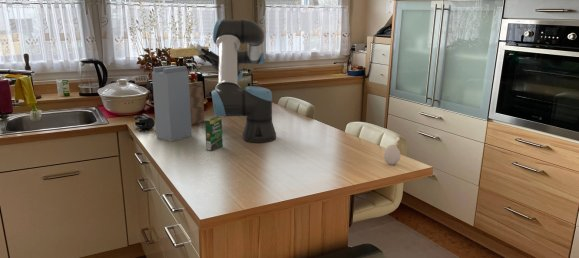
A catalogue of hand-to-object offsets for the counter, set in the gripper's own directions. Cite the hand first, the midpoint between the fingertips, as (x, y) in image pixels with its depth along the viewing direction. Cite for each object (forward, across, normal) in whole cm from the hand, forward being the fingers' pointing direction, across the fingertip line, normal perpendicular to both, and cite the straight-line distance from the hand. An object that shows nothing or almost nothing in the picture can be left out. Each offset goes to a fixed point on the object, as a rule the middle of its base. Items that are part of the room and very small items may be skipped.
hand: (193, 46), depth 226 cm
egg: (-13, -112, -37) cm, 119 cm away
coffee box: (+8, -44, -50) cm, 67 cm away
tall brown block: (-15, 0, -36) cm, 39 cm away
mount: (+6, -16, -48) cm, 51 cm away
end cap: (+5, +7, -48) cm, 48 cm away
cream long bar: (0, 0, -5) cm, 5 cm away
